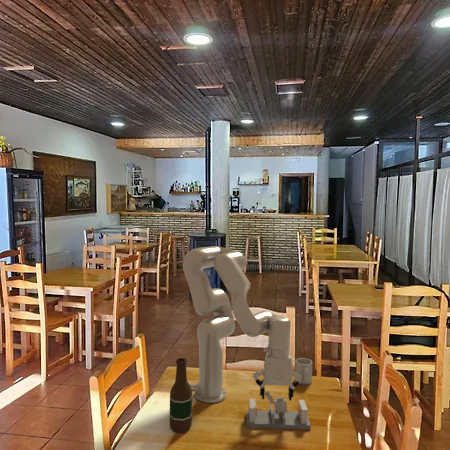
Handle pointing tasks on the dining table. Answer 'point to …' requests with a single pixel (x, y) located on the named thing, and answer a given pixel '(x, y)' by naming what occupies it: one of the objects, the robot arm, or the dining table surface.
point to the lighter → (277, 403)
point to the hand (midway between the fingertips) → (276, 398)
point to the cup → (304, 370)
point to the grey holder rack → (277, 418)
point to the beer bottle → (181, 400)
